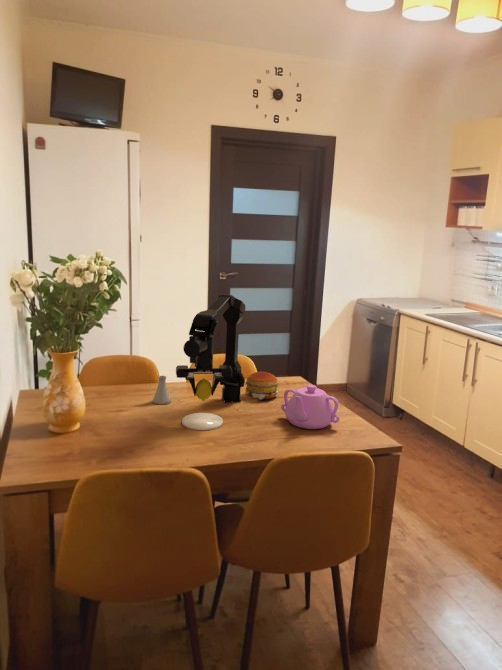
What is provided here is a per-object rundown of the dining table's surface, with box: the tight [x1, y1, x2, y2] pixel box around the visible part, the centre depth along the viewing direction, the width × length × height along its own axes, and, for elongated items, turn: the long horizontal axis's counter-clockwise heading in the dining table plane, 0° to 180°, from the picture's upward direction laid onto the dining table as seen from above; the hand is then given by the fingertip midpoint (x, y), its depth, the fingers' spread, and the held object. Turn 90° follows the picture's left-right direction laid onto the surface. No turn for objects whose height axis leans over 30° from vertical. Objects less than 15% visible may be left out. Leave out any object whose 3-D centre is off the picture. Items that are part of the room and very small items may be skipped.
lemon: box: [195, 378, 212, 402], centre depth 179 cm, size 6×6×8 cm
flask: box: [152, 375, 172, 405], centre depth 200 cm, size 7×7×10 cm
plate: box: [181, 412, 224, 432], centre depth 182 cm, size 14×14×1 cm
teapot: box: [280, 384, 341, 430], centre depth 183 cm, size 22×22×14 cm
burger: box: [245, 371, 279, 400], centre depth 212 cm, size 14×14×10 cm
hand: (203, 395), depth 180 cm, fingers closed on lemon, 5 cm apart
